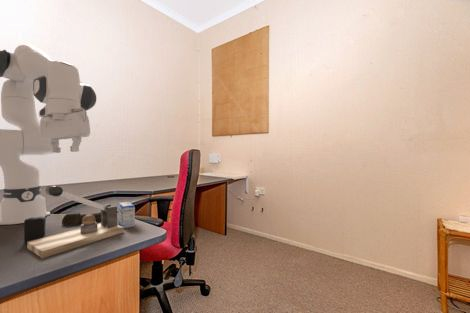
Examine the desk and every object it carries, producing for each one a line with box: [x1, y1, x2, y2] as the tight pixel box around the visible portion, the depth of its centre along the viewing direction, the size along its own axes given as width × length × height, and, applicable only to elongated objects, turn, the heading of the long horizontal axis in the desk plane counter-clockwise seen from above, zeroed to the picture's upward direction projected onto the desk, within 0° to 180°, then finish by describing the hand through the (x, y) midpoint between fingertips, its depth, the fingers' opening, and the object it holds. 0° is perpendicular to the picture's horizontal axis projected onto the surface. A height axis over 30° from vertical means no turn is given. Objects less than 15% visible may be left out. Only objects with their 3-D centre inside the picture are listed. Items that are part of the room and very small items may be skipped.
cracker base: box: [26, 203, 124, 259], centre depth 77 cm, size 12×24×10 cm, turn 147°
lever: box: [45, 185, 107, 212], centre depth 78 cm, size 4×22×3 cm, turn 147°
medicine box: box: [117, 201, 136, 229], centre depth 92 cm, size 8×4×9 cm, turn 40°
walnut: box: [81, 213, 97, 225], centre depth 79 cm, size 4×4×4 cm
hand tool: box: [61, 211, 101, 226], centre depth 96 cm, size 19×4×5 cm, turn 115°
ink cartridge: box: [23, 216, 46, 245], centre depth 75 cm, size 5×2×8 cm, turn 120°
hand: (65, 152), depth 75 cm, fingers open, 8 cm apart
